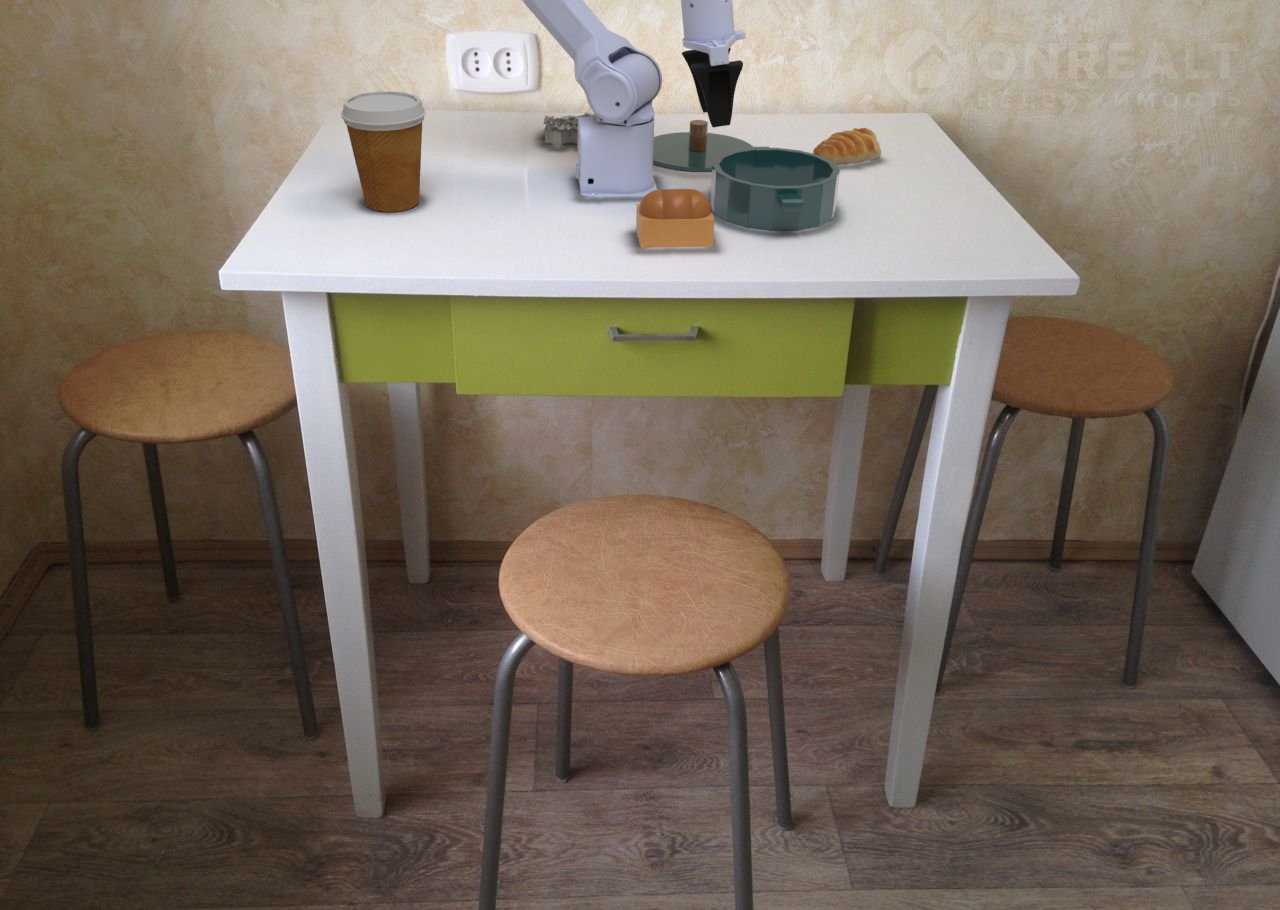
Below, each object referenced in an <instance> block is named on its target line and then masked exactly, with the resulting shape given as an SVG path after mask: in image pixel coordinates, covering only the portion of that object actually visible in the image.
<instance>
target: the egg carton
mask: <svg viewBox="0 0 1280 910" xmlns="http://www.w3.org/2000/svg"><path fill="white" fill-rule="evenodd" d="M593 115H595V113H590V112H585V113H584V114H580V115H572V114H570V115H563V116H561V117H555V116H554V115H552V116H549V115H545V116H544V119H543V125H545V127H544V143H545V144H551V145H553V146H557V147H558V146H559V147H560V146H562V145H564V144H574V145H578V118H580V117H588V116H593Z"/></svg>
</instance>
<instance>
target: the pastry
mask: <svg viewBox="0 0 1280 910" xmlns="http://www.w3.org/2000/svg"><path fill="white" fill-rule="evenodd" d="M812 151H813V153H812V154H816V155H820V156H822V157H824V158H826V159H828V160H830V161H832V162H834V163H835V164H836V166H837V165H853V164H859V163H861V162H868V161H873V160H877V159H879V158H880V157H881V156H882V155H881V154H882V149H881V147H880V142H879V141H878V138H877V134H876V133H875V132H874V131H873V130H871V129H870V128H867V127H861V128H860V127H859V128H858V127H854V128H853V129H852V130H843V131H837V132H834V133H832V134H831V135H830V136H829V137H828V138H826V139H824V140H822V141H821V142H820V143H819V144H817V146H816V147H814V149H813V150H812Z"/></svg>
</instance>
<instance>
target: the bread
mask: <svg viewBox="0 0 1280 910" xmlns="http://www.w3.org/2000/svg"><path fill="white" fill-rule="evenodd" d="M635 211H636V217H635V232H636V236H637V239H638V243H639V244H638V245H639V247H640V249H645V248H646V249H647V248H651V249H653V248H654V249H655V248H699V247H700V248H701V247H703V248H704V247H714V236H715V235H714V234H715V217H714V215H713V213H712V212H713V211H712V208H711V205H710V199H709V198H708V197H707V196H706V194H704V193H703V192H702V191H700V190H699V189H698V190H697V189H695V188H659V189H658V188H657V190H654V191H651V192H649V193H648V194H647V195H644V196H643V198H642V199H641V201H640V203H637V204H636V209H635Z"/></svg>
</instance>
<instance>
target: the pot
mask: <svg viewBox="0 0 1280 910" xmlns="http://www.w3.org/2000/svg"><path fill="white" fill-rule="evenodd" d="M840 176H841V170H840V168H839V167H838V166H837V165H836V164H835V163H834V162H832V161H830V160H828V159H826V158H824V157H822V156H820V155H816V154H813V153H812V152H807V151H804V150H800V149H790V148H781V147H769V146H753V147H750V148H749V149H742V150H735V151H731V152H729V153H726V154H723V155H721V156H718V157H717V159H716V160H715V161H714V162H713V164H712V171H711V180H710V181H711V182H710V199H709V202H710V205H711V211H712V212H713V213H714V214H715V215H716V216H717V217H719V218H720V219H721V220H723V221H725V222H728V223H730V224H732V225H735V226H741V227H743V228H748V229H753V230H758V231H759V230H761V231H772V232H792V231H795V232H796V231H803V230H809V229H814V228H818V227H821V226H823V225H825V224H827V223H828V222H830V221H832V220H833V218H834V216H835V213H836V210H837V201H838V193H839V186H840V185H839V184H840Z"/></svg>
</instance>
